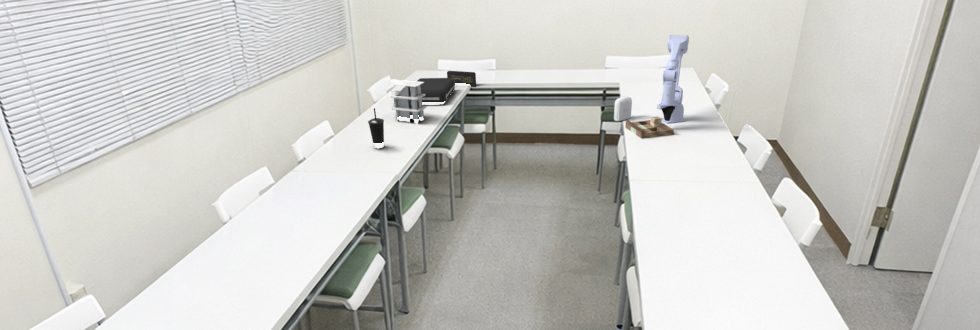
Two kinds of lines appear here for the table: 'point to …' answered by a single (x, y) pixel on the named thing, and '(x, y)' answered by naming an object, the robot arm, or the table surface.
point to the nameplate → (463, 77)
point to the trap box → (648, 129)
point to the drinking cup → (377, 129)
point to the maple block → (656, 121)
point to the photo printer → (622, 108)
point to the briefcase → (436, 89)
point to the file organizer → (407, 99)
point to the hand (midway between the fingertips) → (667, 120)
